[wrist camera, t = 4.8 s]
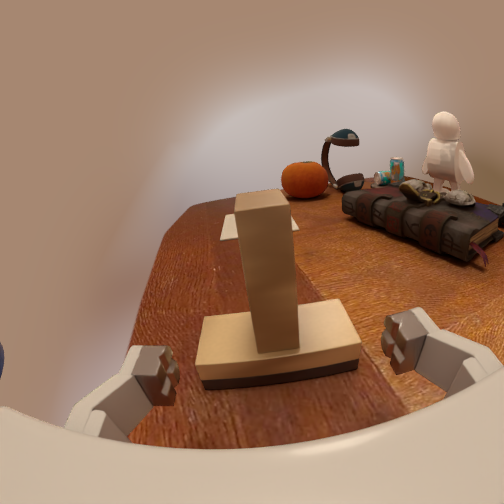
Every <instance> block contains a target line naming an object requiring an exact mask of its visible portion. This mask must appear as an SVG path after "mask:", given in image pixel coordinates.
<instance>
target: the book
mask: <svg viewBox="0 0 504 504" xmlns="http://www.w3.org/2000/svg"><path fill="white" fill-rule="evenodd" d="M342 210H343V212H344V213H345V214H348V215H351V216H354V217H356V218H357V220H358V221H359V222H362V223H365V224H367V225H370V226H373V227H376V228H380V227H384V228H385V229H386V231H388V232H390V233H393V234H395V235H398V236H401V237H403V238H408V237H410V238H412V239H415V240H417V241H419V244H420V245H421V246H423V247H425V248H428V249H430V250H432V251H435V252H437V253H439V254H442V255H444V254H446V253H448V254H450V255H453V256H455V257H457V258H459V259H462V260H464V261H466V262H468V261H470V260H471V259H472V258H473V256H474V255H475V254H476V253H477V252H478V253H479V254H480V255H481V256H482V258H483V260H484V264H485V267H486V261H487V263H488V258H487V255H486V254H485V252H484V251H483V250H482V248H483V247H484V246H485V245H487V244H488V243H489V242H490V241H492V240H494V241H498V240H499V239H501V238H502V237H503V236H504V232H502V231H500V230H498V219H500V218H501V217H502V216H503V215H504V207H502V206H497V205H492V204H489V205H485V204H481V203H477V202H475V200H474V197H473V195H471V194H469V193H468V192H467V191H463V190H460V189H457V190H453V191H450V192H448V193H446V192H441V193H439V192H436V191H434V190H433V189H432V186H431V185H430V184H425V183H424V182H423V181H421V180H416V179H412V180H409V181H404V180H402V181H398V182H394V183H390V184H388V186H387V187H383V188H374V189H365V190H356V191H350V192H347V193H345V194H344V195H343V197H342Z"/></svg>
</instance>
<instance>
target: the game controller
mask: <svg viewBox="0 0 504 504" xmlns="http://www.w3.org/2000/svg"><path fill="white" fill-rule="evenodd" d="M502 207H504V203H503V205H502ZM501 223H504V215H503V216H502V217H501V218H500V219H498V226H500V224H501Z"/></svg>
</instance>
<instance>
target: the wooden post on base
mask: <svg viewBox="0 0 504 504" xmlns="http://www.w3.org/2000/svg"><path fill="white" fill-rule="evenodd" d="M234 216H235V222H236V228H237V234H238V240H239V247H240V253H241V259H242V265H243V271H244V277H245V283H246V289H247V295H248V301H249V307H250V312H243V313H235V314H226V315H216V316H206V317H204V321H203V326H202V331H201V336H200V341H199V346H198V352H197V357H196V363H195V366H196V369H197V371H198V374H199V376H200V379H201V381H202V383H203V386H204V388H205V389H206V390H208V389H227V388H240V387H251V386H261V385H270V384H277V383H285V382H292V381H298V380H304V379H310V378H316V377H321V376H326V375H331V374H336V373H341V372H345V371H350V370H354V369H357V368H358V363H359V357H360V351H361V344H362V341H361V339H360V337H359V335H358V333H357V332H356V330H355V328H354V326H353V324H352V322H351V320H350V318H349V316H348V314H347V312H346V311H345V309H344V307H343V305H342V303H341V301H340V299H333V300H327V301H321V302H315V303H309V304H302V305H298V301H297V285H296V270H295V256H294V243H293V232H292V220H291V210H290V204H289V202H288V201H287V200H286V198H285V197H284V195H283V194H282V193H281V191H280V190H279V189H271V190H263V191H256V192H248V193H240V194H237V195H236V202H235V208H234Z"/></svg>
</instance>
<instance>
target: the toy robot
mask: <svg viewBox="0 0 504 504" xmlns="http://www.w3.org/2000/svg"><path fill="white" fill-rule="evenodd" d="M432 127H433V131H434V136H435V137H436V138H437V139H436V138H433V139H431V140H430V142H429V145H428V150H427V156H426V158H425V160H424V163H423V166H422V172H423V174H428V173H429V175H430V176H431V177H433V178H434V186H433V190H434V191H436V192H439V193H441V192H446V193H448V192H449V190H447V189H443V188H442V185H443V183H444V181H445V180H448V181H449V182H450V185H451V189H452V191H453V190H457V189H460V183H461V182H463V180H464V179H465V181H466V182H467V183H468V184H472V183H473V181H474V173H473V170H472V167H471V165H470V162H469V161H468V159H467V157H466V156H465V150H464V146H463V144H462V142H459V141H457V140H459V139H460V125H459V123H458V121H457V119H456V117H455V116H454V115H452V114H450V113H448V112H445V111H443V112H439V113H437V114H436V115H435V116H434V118H433V122H432Z"/></svg>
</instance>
